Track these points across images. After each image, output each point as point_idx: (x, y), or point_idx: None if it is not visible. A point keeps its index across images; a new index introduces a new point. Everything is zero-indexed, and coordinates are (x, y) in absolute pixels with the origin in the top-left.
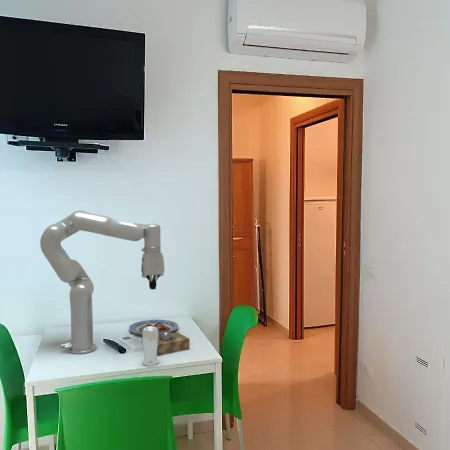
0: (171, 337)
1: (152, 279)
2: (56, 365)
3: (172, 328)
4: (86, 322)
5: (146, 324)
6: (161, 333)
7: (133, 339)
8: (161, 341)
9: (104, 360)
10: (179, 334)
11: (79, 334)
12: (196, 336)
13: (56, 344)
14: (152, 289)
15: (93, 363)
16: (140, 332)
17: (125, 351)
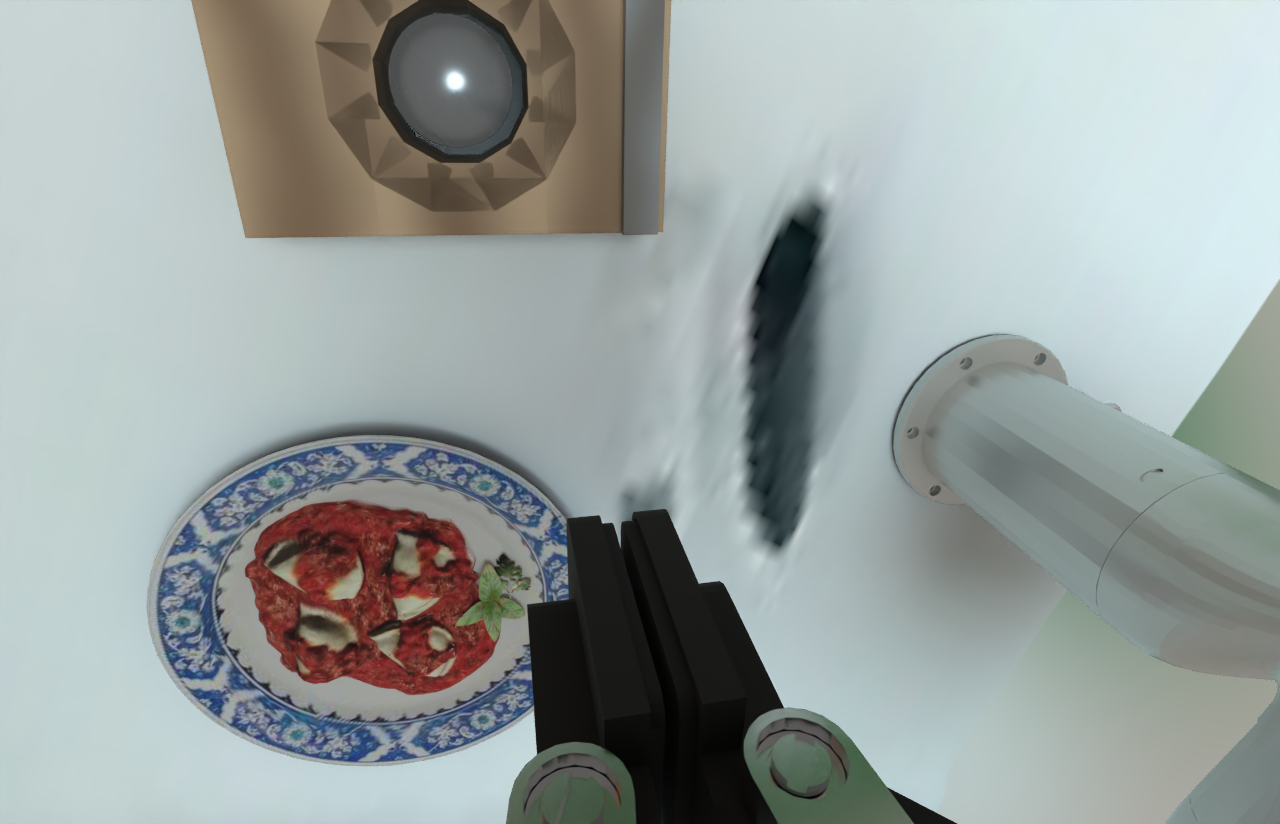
0: (378, 100)
1: (769, 784)
2: (1218, 216)
3: (232, 532)
4: (1167, 455)
5: (413, 708)
6: (512, 89)
7: (617, 461)
8: (540, 9)
9: (984, 126)
10: (253, 134)
11: (1127, 415)
12: (19, 279)
13: (1027, 563)
14: (663, 514)
15: (1064, 110)
16: (542, 528)
17: (780, 233)
